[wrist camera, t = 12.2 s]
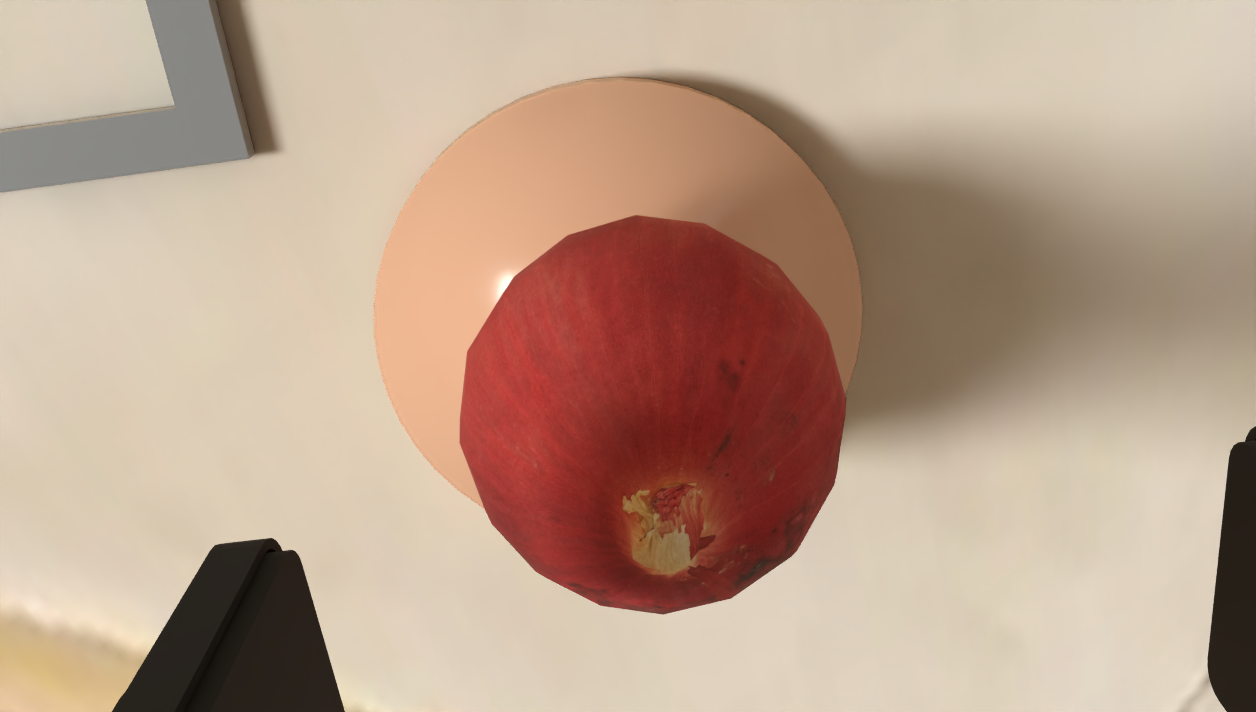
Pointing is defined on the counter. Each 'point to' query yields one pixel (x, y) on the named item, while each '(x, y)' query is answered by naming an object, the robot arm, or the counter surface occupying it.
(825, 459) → the onion
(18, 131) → the frame
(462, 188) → the disc
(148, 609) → the counter surface
